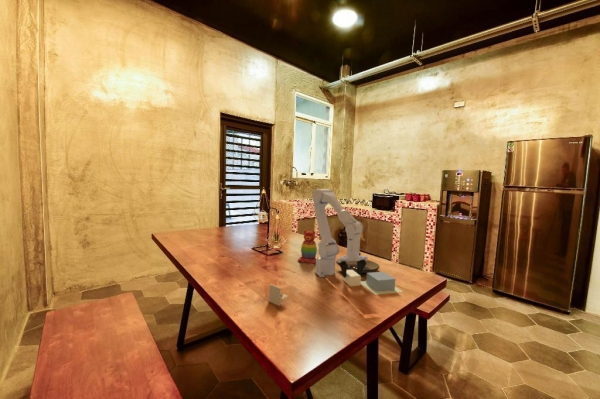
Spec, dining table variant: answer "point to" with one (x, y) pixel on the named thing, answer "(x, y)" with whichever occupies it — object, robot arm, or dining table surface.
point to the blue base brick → (380, 281)
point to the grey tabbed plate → (276, 295)
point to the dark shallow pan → (368, 267)
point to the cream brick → (352, 278)
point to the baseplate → (380, 291)
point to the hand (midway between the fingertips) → (351, 276)
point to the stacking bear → (308, 248)
